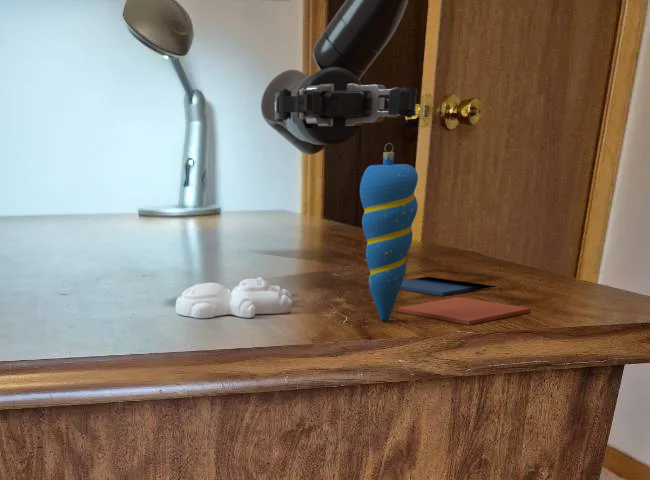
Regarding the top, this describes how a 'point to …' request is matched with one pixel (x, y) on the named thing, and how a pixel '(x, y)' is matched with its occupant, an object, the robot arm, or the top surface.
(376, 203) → the ornament
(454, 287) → the blue pad
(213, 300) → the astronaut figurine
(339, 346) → the top surface
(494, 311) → the terracotta pad
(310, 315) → the top surface
